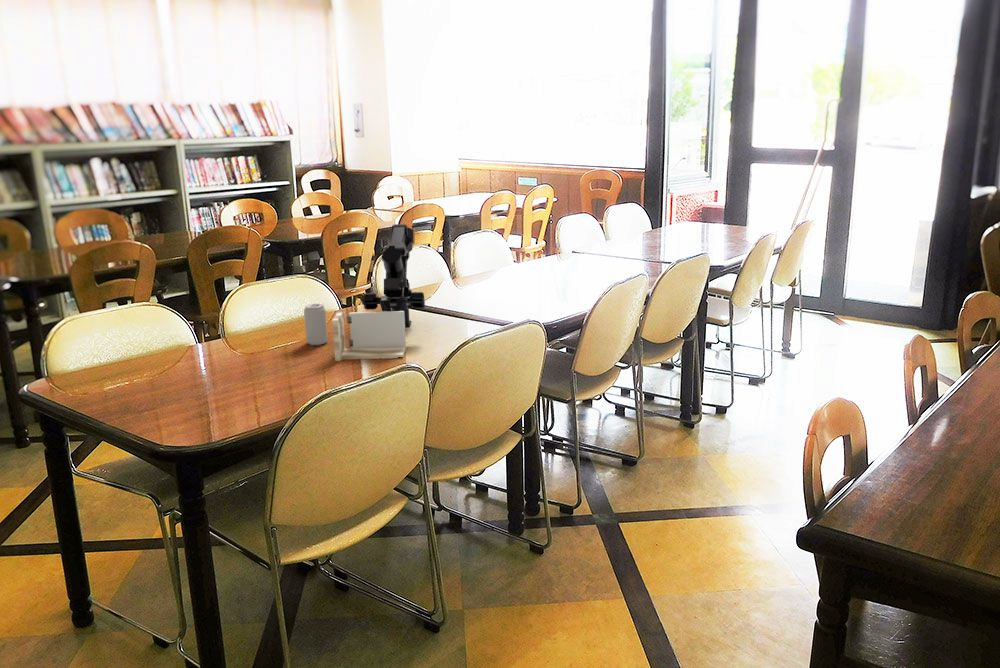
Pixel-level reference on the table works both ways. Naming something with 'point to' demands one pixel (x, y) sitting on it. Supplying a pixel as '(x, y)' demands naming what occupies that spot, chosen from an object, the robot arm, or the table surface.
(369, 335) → the cabinet door
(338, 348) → the cabinet corner
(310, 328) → the beverage can
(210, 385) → the table surface
